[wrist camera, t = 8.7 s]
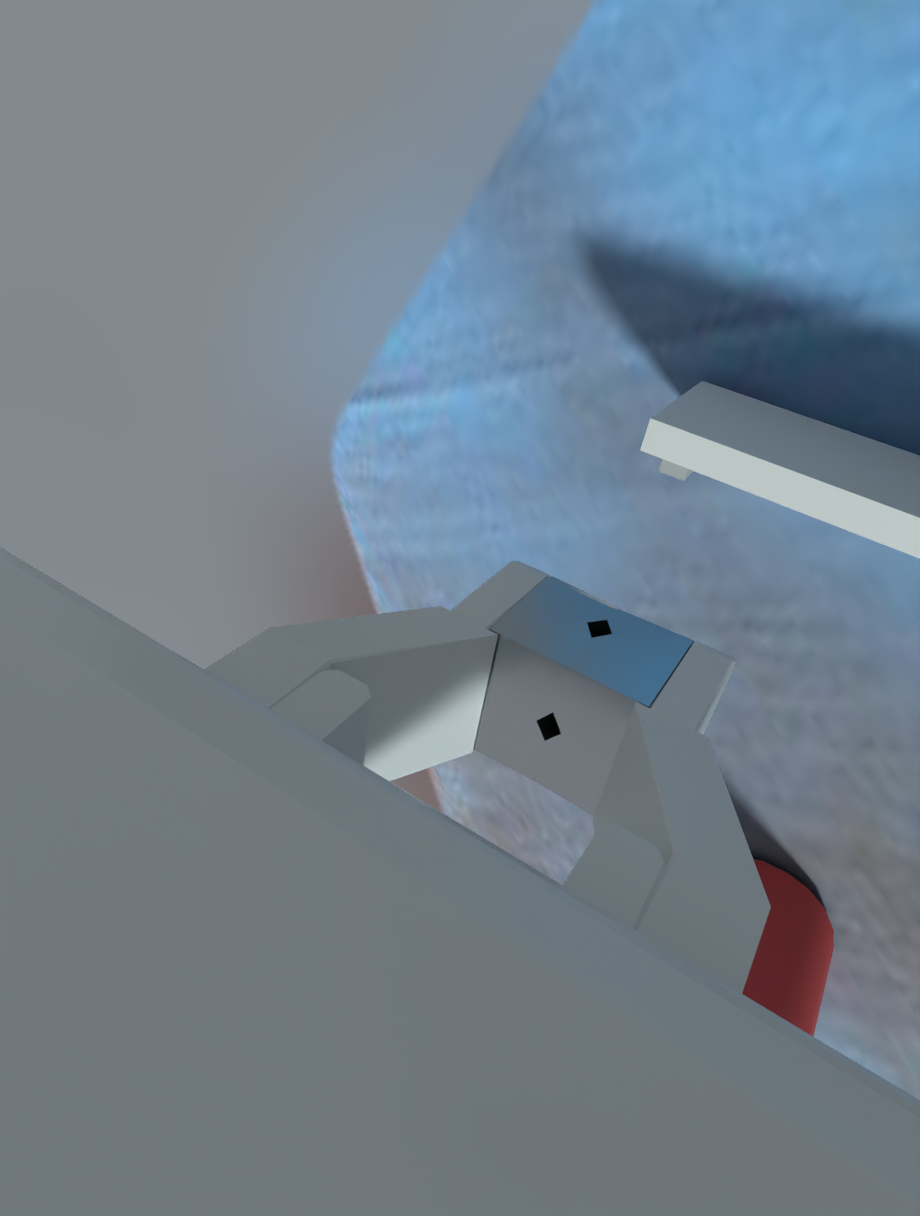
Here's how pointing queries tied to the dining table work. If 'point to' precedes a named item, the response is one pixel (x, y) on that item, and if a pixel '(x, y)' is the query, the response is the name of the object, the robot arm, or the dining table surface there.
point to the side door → (792, 462)
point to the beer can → (791, 951)
